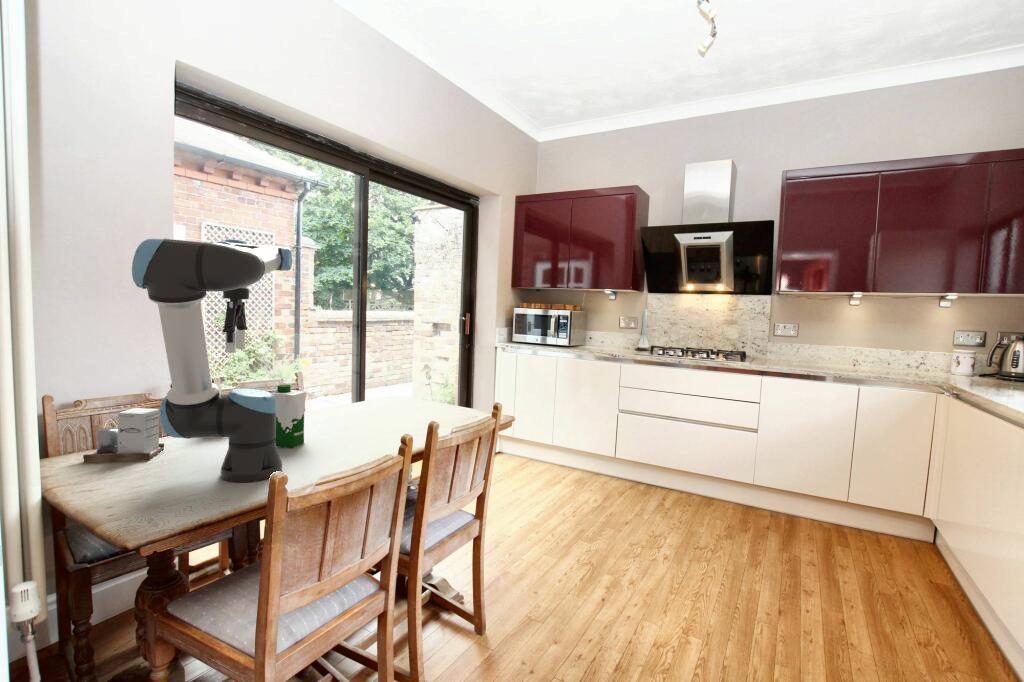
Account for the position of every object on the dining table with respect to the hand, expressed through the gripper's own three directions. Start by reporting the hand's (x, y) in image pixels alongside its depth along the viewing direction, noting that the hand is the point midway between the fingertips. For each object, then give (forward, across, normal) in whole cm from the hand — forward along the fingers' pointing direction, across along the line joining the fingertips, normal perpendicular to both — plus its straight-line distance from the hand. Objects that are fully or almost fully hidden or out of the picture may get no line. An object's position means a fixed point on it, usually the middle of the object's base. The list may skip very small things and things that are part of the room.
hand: (235, 350), depth 162 cm
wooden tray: (+31, -12, +26) cm, 42 cm away
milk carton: (+31, -6, -18) cm, 36 cm away
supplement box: (+30, -13, +23) cm, 40 cm away
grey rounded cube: (+30, -12, +31) cm, 44 cm away
